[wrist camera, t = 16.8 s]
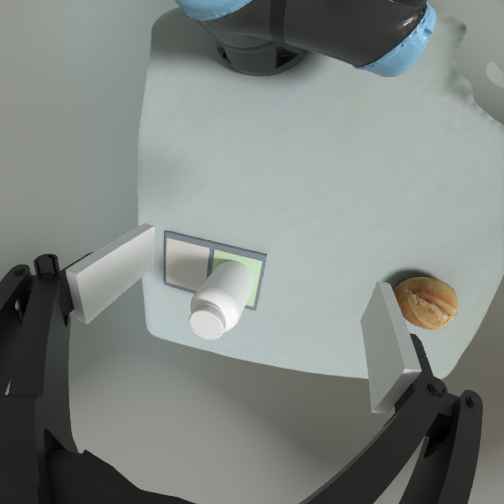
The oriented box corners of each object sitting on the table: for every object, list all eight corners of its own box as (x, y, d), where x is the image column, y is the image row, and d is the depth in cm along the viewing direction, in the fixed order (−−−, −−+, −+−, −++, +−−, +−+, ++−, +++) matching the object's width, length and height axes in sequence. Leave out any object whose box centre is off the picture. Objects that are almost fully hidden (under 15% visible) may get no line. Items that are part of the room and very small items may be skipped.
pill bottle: (259, 267, 49) (237, 315, 35) (248, 302, 52) (225, 354, 39) (218, 253, 50) (182, 294, 36) (210, 288, 53) (177, 335, 40)
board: (167, 230, 52) (164, 232, 51) (267, 254, 49) (265, 256, 48) (166, 282, 57) (164, 285, 56) (256, 308, 54) (254, 311, 53)
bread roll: (404, 260, 43) (417, 280, 36) (460, 282, 42) (477, 302, 34) (382, 303, 47) (390, 328, 40) (438, 320, 46) (450, 344, 38)
